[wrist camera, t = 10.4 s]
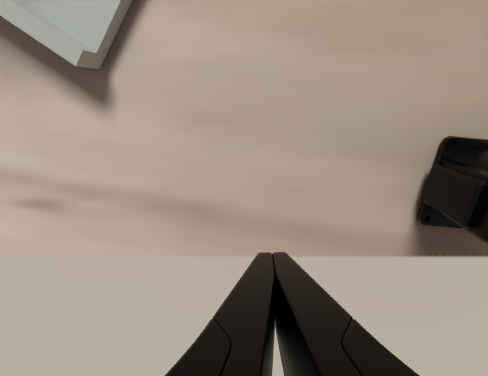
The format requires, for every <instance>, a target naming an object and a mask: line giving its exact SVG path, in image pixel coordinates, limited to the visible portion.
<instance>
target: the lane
mask: <svg viewBox="0 0 488 376" xmlns="http://www.w3.org/2000/svg"><path fill="white" fill-rule="evenodd" d="M131 2H132V0H0V16H2V17H3V18H5V19H6V20H8V21H9V22H11V23H12V24H13V25H15V26H16V27H18V28H19V29H21V30H22V31H24V32H25V33H27V34H28V35H30V36H31V37H33V38H34V39H36V40H37V41H39V42H40V43H42V44H43V45H45V46H46V47H48V48H49V49H51V50H52V51H54V52H55V53H57V54H58V55H60V56H61V57H63V58H64V59H66V60H67V61H68V62H70V63H71V64H73V65H74V66H77V67H85V68H92V69H100V68H101V66H102V63H103V61H104V59H105V57H106V55H107V53H108V51H109V49H110V47H111V45H112V42H113V40H114V38H115V36H116V34H117V32H118V30H119V28H120V26H121V23H122V21H123V19H124V17H125V15H126V13H127V11H128V9H129V7H130V4H131Z"/></svg>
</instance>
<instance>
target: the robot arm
mask: <svg viewBox="0 0 488 376" xmlns="http://www.w3.org/2000/svg"><path fill="white" fill-rule="evenodd" d="M450 142H453V144H452V146H450V147H449V143H450ZM422 199H423V200H422V203H421V206H420V209H419V212H418V215H417V220H418V221H419V222H420V223H422V224H423V225H431V226H442V227H454V228H464V229H465V230H467V231H468V232H470V233H472V234H473V235H475V236H476V237H478V238H479V239H481V240H482V241H484V242H485V243H487V244H488V140H487V139H476V138H465V137H454V136H448V137H446V138H445V139H444V140H443V141H442V143H441V146H440V149H439V152H438V155H437V158H436V161H435V164H434V167H433V168H432V171H431V174H430V177H429V180H428V183H427V186H426V189H425V192H424V195H423V198H422ZM425 216H427V218H426V219H424V217H425ZM275 328H276V334H277V340H278V344H279V350H280V355H281V361H282V366H283V371H284V376H419V375H418V374H417V373H415V372H414V371H413V370H411V369H410V368H409V367H408V366H407V365H405V364H404V363H403V362H402V361H401V360H399V359H398V358H397V357H396V356H394V355H393V354H392V353H391V352H390V351H389V350H387V349H386V348H385V347H384V346H383V345H381V344H380V343H379V342H378V341H377V340H376V339H375V338H374V337H373V336H372V335H371V334H370V333H368V332H367V331H366V330H365V329H364V328H363V327H362V326H361V325H360V324H359V323H358V322H357V321H356V320H354V319H353V318H352V316H350V314H348V313H347V312H346V311H345V310H344V309H343V308H342V307H341V306H340V305H339V304H338V303H337V302H336V301H335V300H334V299H333V298H332V297H330V295H329V294H328V293H327V292H326V291H325V290H324V289H323V288H322V287H321V286H320V285H319V284H318V283H316V282H315V281H314V280H313V279H312V278H311V277H310V276H309V275H308V274H307V273H306V272H305V271H304V270H303V269H302V268H301V267H300V266H299V265H298V264H297V263H296V262H295V261H294V260H293V259H292V258H291V257H290V256H289V255H288V254H287V253H285V252H274V253H273V254H271V253H270V252H267V253H258V254H257V256H256V257H255V259H254V260H253V261H252V263H251V264H250V266H249V267H248V268H247V270H246V271H245V273H244V274H243V276H242V277H241V278H240V280H239V281H238V283H237V284H236V285H235V287H234V288H233V290H232V291H231V292H230V294H229V295H228V297H227V298H226V300H225V301H224V303H223V304H222V306H221V307H220V308H219V309H218V311H217V312H216V314H215V315H214V316H213V319H211V320H210V322H209V323H208V325H207V326H206V327H205V329H204V330H203V332H202V333H201V334H200V336H199V337H198V338H197V339H196V341H195V342H194V343H193V344H192V346H191V347H190V348H189V349H188V350H187V351H186V353H185V354H184V355H183V356H182V357H181V358H180V359H179V361H178V362H177V363H176V364H175V365H174V366H173V367H172V368H171V370H169V372H168V373H167V374H166V375H165V376H272V366H273V349H274V330H275Z"/></svg>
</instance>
